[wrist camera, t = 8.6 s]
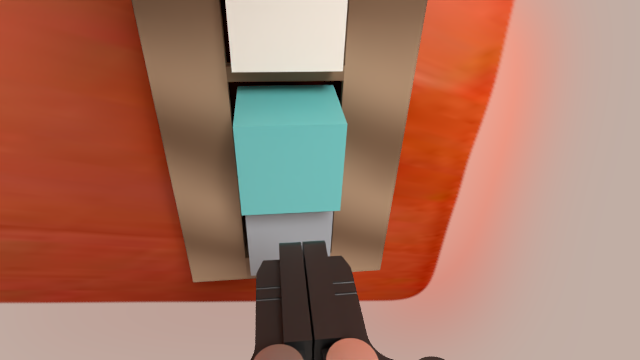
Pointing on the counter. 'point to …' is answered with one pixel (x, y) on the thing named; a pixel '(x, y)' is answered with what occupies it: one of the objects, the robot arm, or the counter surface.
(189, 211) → the frame
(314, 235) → the grey key
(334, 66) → the ivory key
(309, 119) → the teal key
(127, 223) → the counter surface
